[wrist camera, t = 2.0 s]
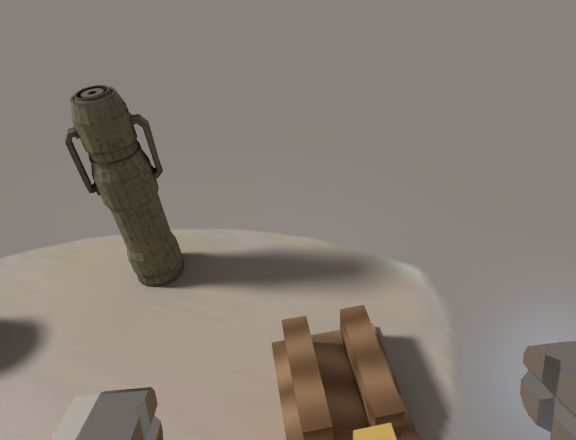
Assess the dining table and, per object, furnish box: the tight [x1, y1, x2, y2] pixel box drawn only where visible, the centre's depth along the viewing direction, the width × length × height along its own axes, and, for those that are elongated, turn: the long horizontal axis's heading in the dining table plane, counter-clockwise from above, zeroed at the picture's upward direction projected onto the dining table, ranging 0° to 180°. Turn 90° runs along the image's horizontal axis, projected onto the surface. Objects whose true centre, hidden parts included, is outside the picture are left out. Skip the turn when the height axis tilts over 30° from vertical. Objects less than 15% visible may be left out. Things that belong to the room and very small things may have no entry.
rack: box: [272, 305, 419, 440], centre depth 57 cm, size 18×16×7 cm
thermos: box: [65, 85, 184, 287], centre depth 70 cm, size 9×12×35 cm
